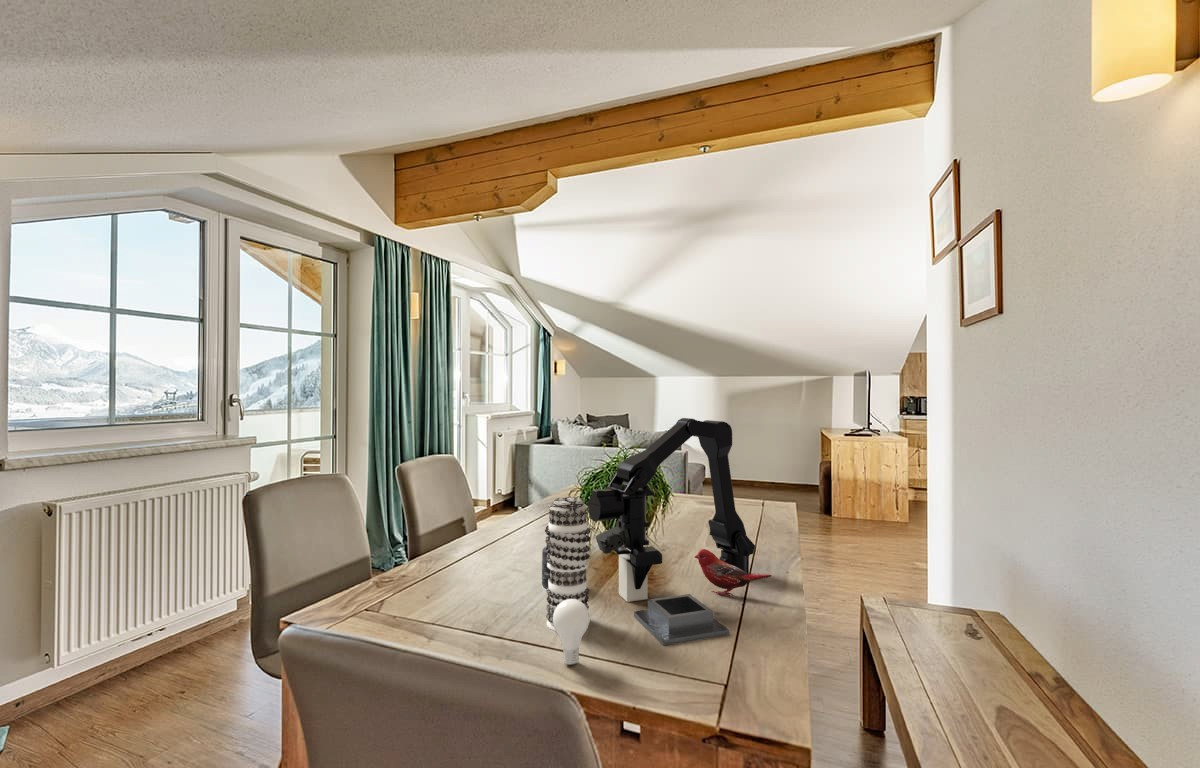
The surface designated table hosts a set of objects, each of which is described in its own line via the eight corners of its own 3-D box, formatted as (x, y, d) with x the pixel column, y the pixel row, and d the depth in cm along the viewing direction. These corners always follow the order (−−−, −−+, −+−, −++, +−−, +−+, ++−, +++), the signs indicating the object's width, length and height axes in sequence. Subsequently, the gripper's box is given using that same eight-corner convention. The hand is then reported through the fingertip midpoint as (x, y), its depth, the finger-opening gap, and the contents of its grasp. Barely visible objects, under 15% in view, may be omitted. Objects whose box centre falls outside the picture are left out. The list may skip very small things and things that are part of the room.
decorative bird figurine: (695, 588, 133) (695, 546, 133) (773, 601, 125) (773, 556, 125) (692, 592, 130) (692, 549, 130) (770, 605, 122) (770, 560, 122)
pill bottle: (563, 590, 131) (563, 542, 131) (538, 588, 132) (538, 540, 132) (569, 582, 137) (569, 535, 137) (546, 580, 138) (546, 534, 138)
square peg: (638, 591, 130) (638, 552, 130) (647, 599, 125) (647, 558, 125) (618, 593, 128) (618, 554, 129) (626, 601, 124) (627, 561, 124)
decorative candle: (573, 637, 106) (574, 506, 106) (535, 626, 111) (535, 500, 111) (599, 620, 114) (599, 498, 114) (562, 611, 119) (562, 493, 119)
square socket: (693, 607, 121) (693, 589, 121) (729, 634, 108) (729, 614, 108) (633, 616, 116) (633, 597, 116) (663, 645, 103) (663, 624, 103)
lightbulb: (552, 655, 99) (552, 593, 99) (588, 654, 99) (588, 592, 100) (552, 674, 93) (552, 607, 93) (590, 672, 93) (591, 606, 93)
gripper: (586, 510, 133) (586, 575, 133) (614, 529, 116) (614, 604, 115) (630, 507, 137) (629, 570, 137) (663, 524, 119) (663, 598, 119)
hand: (633, 585), depth 127 cm, fingers closed on square peg, 5 cm apart
